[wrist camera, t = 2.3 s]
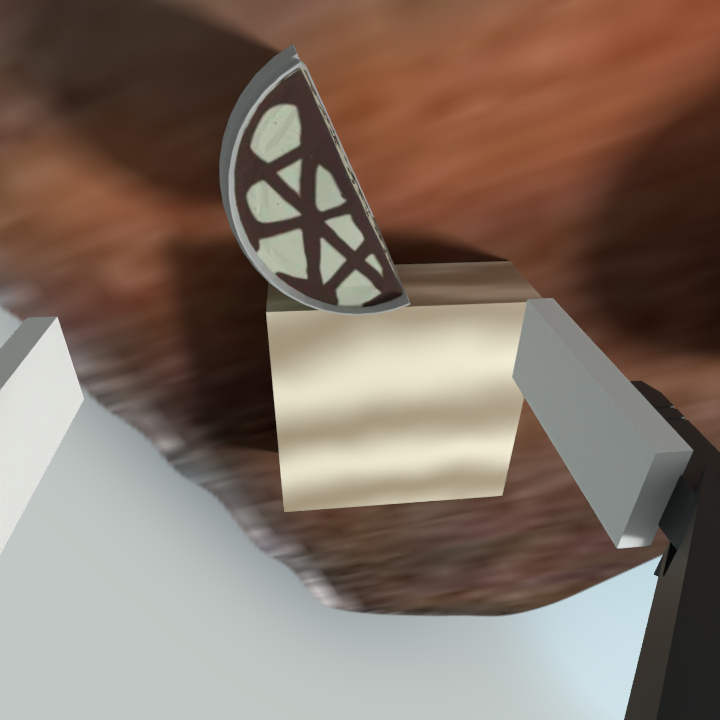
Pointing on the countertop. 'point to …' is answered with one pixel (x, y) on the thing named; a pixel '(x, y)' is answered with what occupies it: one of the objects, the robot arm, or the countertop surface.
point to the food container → (302, 198)
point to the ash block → (400, 390)
